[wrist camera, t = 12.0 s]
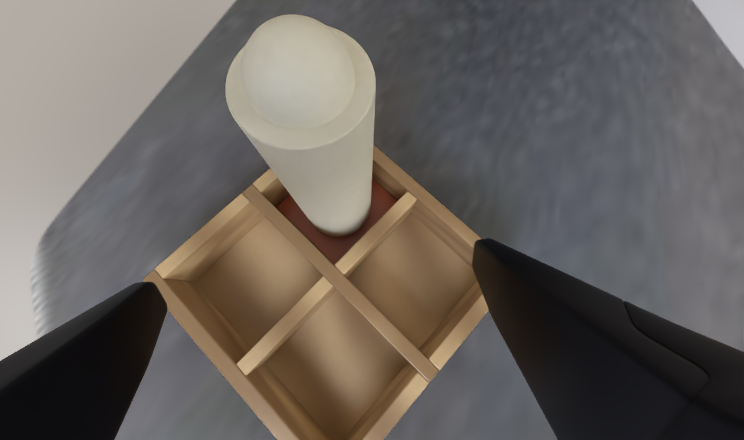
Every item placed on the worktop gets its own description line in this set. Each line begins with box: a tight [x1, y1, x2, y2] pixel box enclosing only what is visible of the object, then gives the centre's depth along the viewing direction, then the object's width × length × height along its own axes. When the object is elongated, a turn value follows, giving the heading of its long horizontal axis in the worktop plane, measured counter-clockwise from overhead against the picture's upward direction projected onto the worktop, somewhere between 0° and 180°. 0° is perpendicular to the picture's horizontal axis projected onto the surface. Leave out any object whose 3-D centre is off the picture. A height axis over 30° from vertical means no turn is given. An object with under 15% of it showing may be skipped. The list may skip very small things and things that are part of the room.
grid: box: [143, 145, 489, 440], centre depth 18 cm, size 15×15×3 cm
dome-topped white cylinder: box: [226, 15, 376, 237], centre depth 14 cm, size 4×4×14 cm
